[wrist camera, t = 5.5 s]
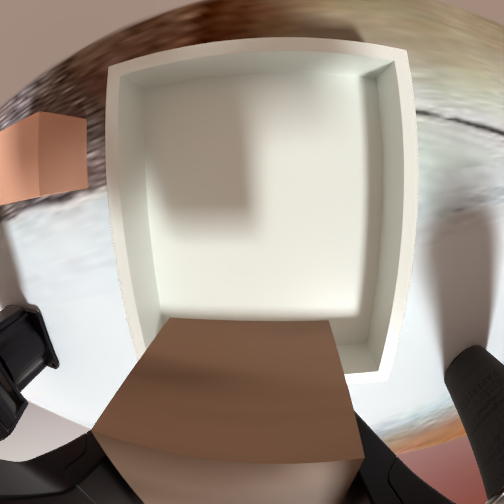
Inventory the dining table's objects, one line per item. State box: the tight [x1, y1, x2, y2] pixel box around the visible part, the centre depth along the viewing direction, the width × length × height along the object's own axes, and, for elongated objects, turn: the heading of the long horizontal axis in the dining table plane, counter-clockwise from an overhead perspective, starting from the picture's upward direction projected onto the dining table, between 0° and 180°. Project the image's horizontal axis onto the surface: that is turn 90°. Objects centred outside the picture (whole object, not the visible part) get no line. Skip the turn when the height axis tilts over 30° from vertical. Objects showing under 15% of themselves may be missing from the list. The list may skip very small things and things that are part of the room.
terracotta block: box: [0, 111, 88, 205], centre depth 14 cm, size 5×5×5 cm
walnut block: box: [91, 317, 365, 504], centre depth 7 cm, size 5×5×5 cm
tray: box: [105, 37, 418, 384], centre depth 14 cm, size 18×15×4 cm
